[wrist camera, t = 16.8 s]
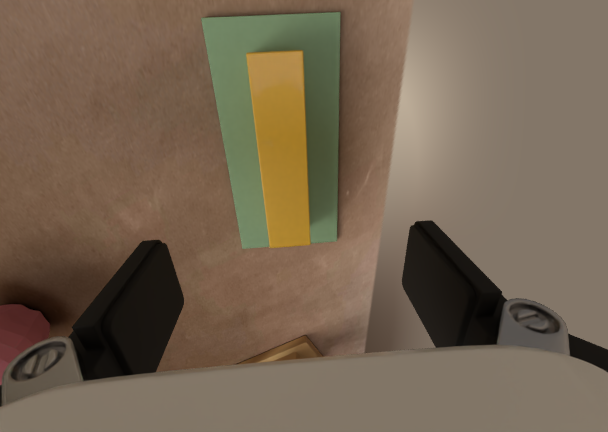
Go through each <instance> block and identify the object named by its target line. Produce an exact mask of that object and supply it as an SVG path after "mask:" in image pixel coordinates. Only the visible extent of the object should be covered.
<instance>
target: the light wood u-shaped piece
mask: <svg viewBox="0 0 608 432" xmlns="http://www.w3.org/2000/svg"><path fill="white" fill-rule="evenodd" d="M316 357H323V356H322V355H321V354H320V352H319V351H318V350H317V349H316V347H315V346H314V345H313V344H312V343H311V341H310V340H309V339H308V338H307V337H306V335H305V336H302V337H300V338H298V339H295V340H293V341H291V342H288V343H286V344H284V345H281V346H279V347H276V348H274V349H272V350H269V351H267V352H265V353H262V354H260V355H258V356H255V357H253V358H251V359H248V360H246V361H243V362H241V363H239V364H249V363H260V362H271V361H282V360H293V359H305V358H316ZM236 365H238V364H236Z"/></svg>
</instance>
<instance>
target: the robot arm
mask: <svg viewBox="0 0 608 432" xmlns="http://www.w3.org/2000/svg"><path fill="white" fill-rule="evenodd" d="M402 285H403V288H404V290H405V292H406V294H407V295H408V297H409V299H410V301H411V303H412V304H413V307H414V308H415V310H416V312H417V314H418V316H419V318H420V319H421V321H422V323H423V325H424V327H425V328H426V330H427V332H428V334H429V336H430V337H431V339H432V341H433V343H434V345H435V346H436V348H425V349H412V350H399V351H388V352H375V353H363V354H351V355H339V356H328V357H316V358H305V359H293V360H282V361H271V362H260V363H249V364H238V365H227V366H217V367H206V368H195V369H185V370H174V371H164V372H156V370H157V367H158V365H159V363H160V360H161V358H162V356H163V353H164V351H165V348H166V346H167V344H168V341H169V339H170V336H171V334H172V332H173V329H174V327H175V325H176V322H177V320H178V317H179V315H180V313H181V310H182V308H183V305H184V297H183V293H182V290H181V287H180V284H179V281H178V278H177V275H176V272H175V269H174V265H173V262H172V259H171V256H170V253H169V250H168V247H167V245H166V244H165V243H162V242H161V241H160V240H150V241H142V242H141V243H140V244H139V245H138V247H137V248H136V249H135V250H134V252H133V253H132V254H131V255H130V257H129V258H128V259H127V260H126V261H125V263H124V264H123V265H122V266H121V268H120V269H119V270H118V271H117V272H116V274H115V275H114V276H113V277H112V279H111V280H110V281H109V282H108V283H107V285H106V286H105V287H104V288H103V290H102V291H101V292H100V293H99V295H98V296H97V297H96V298H95V299H94V301H93V302H92V303H91V304H90V306H89V307H88V308H87V309H86V310H85V312H84V313H83V314H82V315H81V317H80V318H79V319H78V320H77V321H76V323H75V324H74V325H73V326H72V329H73V330H74V331H73V332H72V334H71V335H70V336H69V337H65V336H57V337H52V338H48V339H45V340H43V341H40V342H38V343H36V344H34V345H32V346H31V347H29V348H27V349H26V350H24V351H23V352H22V353H20V354H19V355H18V356H16V357H15V358H14V359H13V360H12V361H11V362H10V363H9V365H8V366H7V367H6V369H5V370H4V372H3V376H2V385H0V432H608V350H607V349H605V348H602V347H600V346H597V345H595V344H592V343H590V342H587V341H585V340H582V339H580V338H577V337H575V336H572V335H570V334H568V329H567V326H566V323H565V322H564V320H563V319H562V318H561V317H560V316H559V315H558V314H557V313H555V312H554V311H553V310H551V309H550V308H548V307H546V306H544V305H542V304H540V303H537V302H535V301H531V300H527V299H519V298H516V299H510V300H508V301H507V300H506V299H505V298H504V297H503V296H502V291H501V290H500V289H499V288H498V287H497V286H496V285H495V284H494V283H493V282H492V281H491V280H490V279H489V278H488V277H487V276H486V275H485V274H484V273H483V272H482V271H481V270H480V269H479V268H478V267H477V266H476V265H475V264H474V263H473V262H472V261H471V260H470V259H469V258H468V257H467V256H466V255H465V254H464V253H463V252H462V251H461V250H460V248H458V247H457V245H455V243H454V242H453V241H452V240H451V239H450V238H449V237H448V236H447V235H446V234H445V233H444V232H443V231H442V230H441V229H440V228H439V227H438V226H437V225H436V224H435V223H434V222H433V221H417V222H415V224H414V225H413V226H411V227H410V230H409V237H408V244H407V250H406V257H405V263H404V270H403V277H402Z"/></svg>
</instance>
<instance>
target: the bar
mask: <svg viewBox="0 0 608 432" xmlns="http://www.w3.org/2000/svg"><path fill="white" fill-rule="evenodd" d="M246 58H247V66H248V74H249V83H250V91H251V99H252V107H253V115H254V123H255V132H256V140H257V148H258V156H259V164H260V172H261V180H262V189H263V197H264V205H265V213H266V221H267V229H268V238H269V246H270V248H278V247H290V246H303V245H310V244H311V240H310V213H309V187H308V161H307V134H306V108H305V82H304V55H303V50H292V51H271V52H249V53H246Z"/></svg>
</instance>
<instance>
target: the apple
mask: <svg viewBox="0 0 608 432" xmlns="http://www.w3.org/2000/svg"><path fill="white" fill-rule="evenodd" d="M49 332H50V323H49V322H48V321H47V320H46V319H45V318H44V316H43V315H42V313H41V312H40V311H35V310H30V309H28V308H26V307H25V306H23V305H20V304H8V305H1V306H0V385H2V376H3V372H4V370H5V369H6V367H7V366H8V365H9V363H10V362H11V361H12V360H13V359H14V358H15V357H16V356H18V355H19V354H20V353H22V352H23V351H24V350H26V349H27V348H29V347H31V346H32V345H34V344H36V343H38V342H40V341H43V340H45V339H48V337H49Z"/></svg>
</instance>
